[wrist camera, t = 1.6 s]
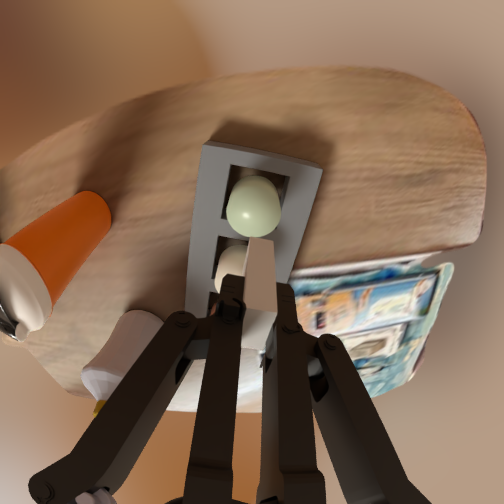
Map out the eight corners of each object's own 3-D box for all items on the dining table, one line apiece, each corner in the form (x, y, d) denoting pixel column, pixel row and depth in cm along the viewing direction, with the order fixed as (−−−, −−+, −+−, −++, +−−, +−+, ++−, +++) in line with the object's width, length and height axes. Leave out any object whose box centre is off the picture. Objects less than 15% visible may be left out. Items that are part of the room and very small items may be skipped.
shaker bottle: (113, 181, 30) (-1, 277, 12) (122, 245, 34) (45, 360, 17) (61, 185, 29) (-44, 265, 12) (73, 242, 34) (-7, 337, 17)
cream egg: (216, 275, 32) (212, 297, 29) (222, 241, 30) (217, 260, 27) (256, 282, 33) (255, 305, 29) (265, 249, 30) (266, 269, 27)
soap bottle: (123, 344, 45) (81, 459, 24) (104, 293, 39) (35, 424, 18) (186, 354, 45) (160, 484, 24) (177, 301, 39) (130, 463, 18)
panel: (187, 312, 40) (183, 326, 37) (208, 140, 27) (202, 144, 25) (265, 326, 41) (266, 340, 38) (317, 163, 28) (323, 169, 26)
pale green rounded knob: (227, 214, 28) (222, 232, 25) (235, 171, 26) (231, 182, 23) (272, 223, 29) (273, 241, 25) (283, 180, 26) (286, 193, 23)
